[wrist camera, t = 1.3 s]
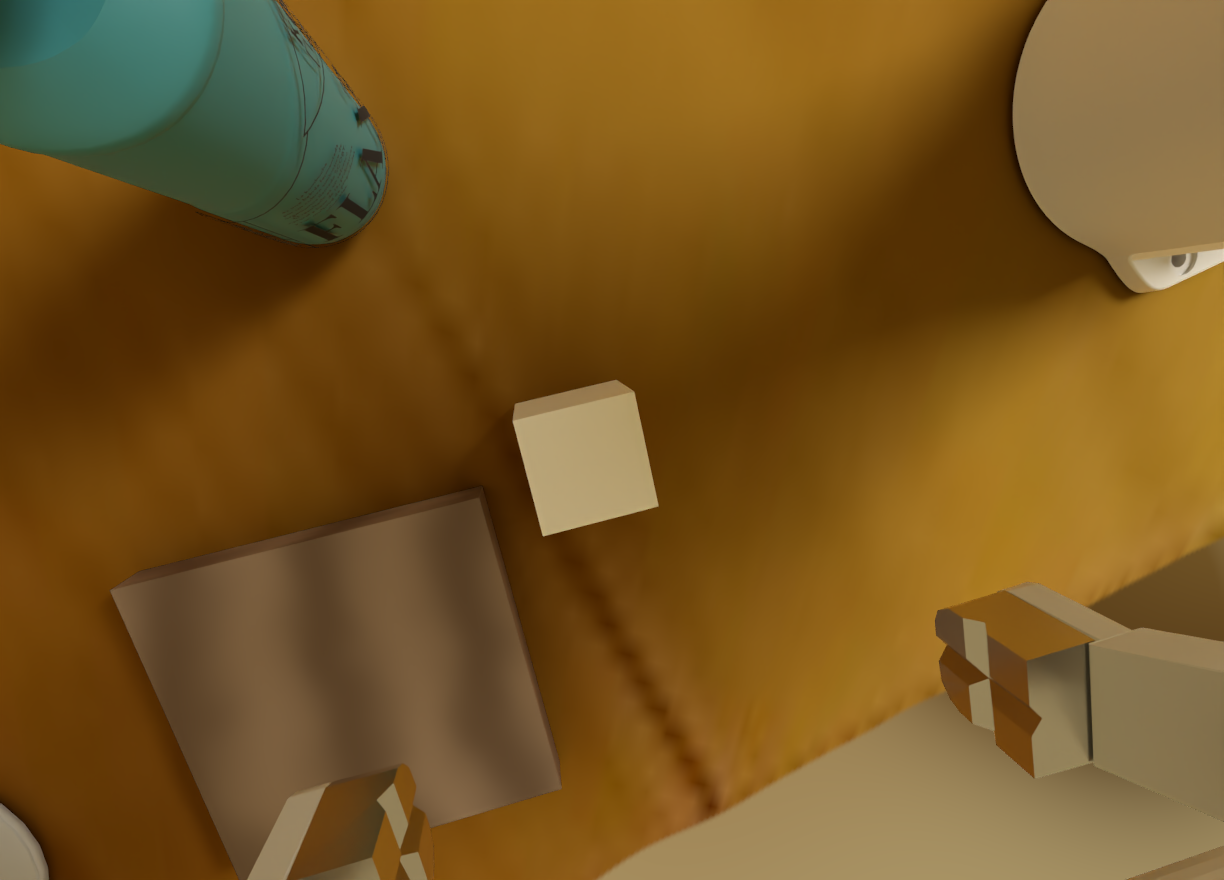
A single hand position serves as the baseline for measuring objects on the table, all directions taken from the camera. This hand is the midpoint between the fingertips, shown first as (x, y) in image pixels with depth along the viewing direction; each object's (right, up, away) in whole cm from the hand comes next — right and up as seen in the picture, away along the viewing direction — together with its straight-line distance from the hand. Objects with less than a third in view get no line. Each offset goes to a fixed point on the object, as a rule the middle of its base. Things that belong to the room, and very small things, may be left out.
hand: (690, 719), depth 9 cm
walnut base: (-13, -8, +21) cm, 26 cm away
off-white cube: (-3, +4, +21) cm, 21 cm away
